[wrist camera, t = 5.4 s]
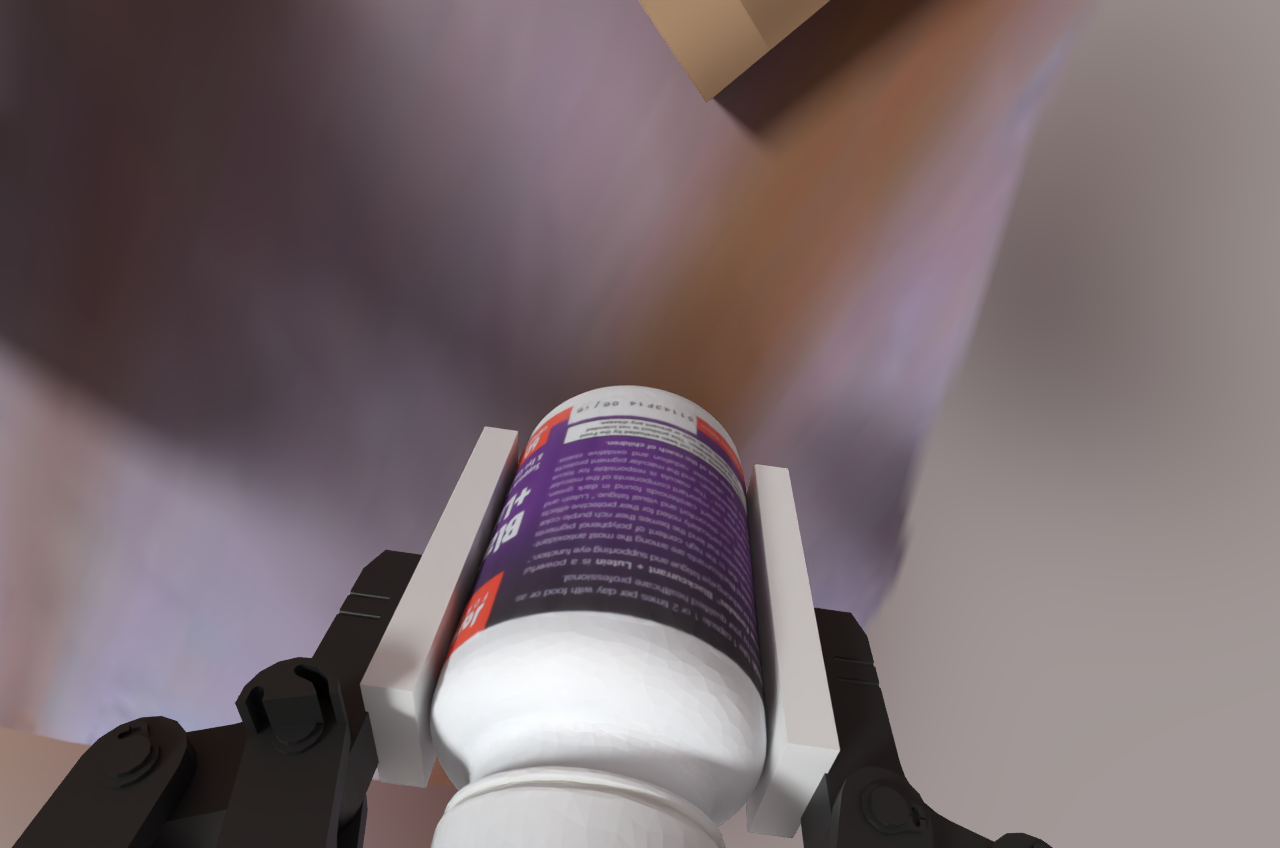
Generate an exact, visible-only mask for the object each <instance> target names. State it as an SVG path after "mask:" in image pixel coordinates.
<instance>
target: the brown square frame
mask: <svg viewBox="0 0 1280 848" xmlns="http://www.w3.org/2000/svg"><path fill="white" fill-rule="evenodd" d="M638 1H639V3H640V4H641V6H642V7H643V9H644V10H645V12H646V13H647V15H648V16H649V18H650V19H651V21H652V22H653V24H654V25H655V27H656V28H657V30H658V31H659V33H660V34H661V36H662V37H663V39H664V40H665V42H666V43H667V45H668V46H669V48H670V49H671V51H672V52H673V54H674V55H675V57H676V58H677V60H678V61H679V63H680V64H681V66H682V67H683V69H684V70H685V72H686V73H687V75H688V76H689V78H690V79H691V81H692V82H693V84H694V85H695V87H696V88H697V90H698V91H699V93H700V94H701V96H702V97H703V99H704V100H705V102H706V103H707V102H708V101H709V100H711V99H712V98H713V97H714V96H715V95H717V94H718V93H719V92H720V91H721V90H723V89H724V88H725V87H726V86H727V85H729V84H730V83H731V82H732V81H733V80H735V79H736V78H737V77H738V76H739V75H741V74H742V73H743V72H744V71H746V70H747V69H748V68H749V67H750V66H752V65H753V64H754V63H755V62H756V61H758V60H759V59H760V58H761V57H762V56H764V55H765V54H766V53H767V52H768V51H770V50H771V49H772V48H773V47H774V46H776V45H777V44H778V43H779V42H780V41H782V40H783V39H784V38H785V37H786V36H788V35H789V34H790V33H791V32H792V31H794V30H795V29H796V28H797V27H798V26H800V25H801V24H802V23H803V22H805V21H806V20H807V19H808V18H809V17H811V16H812V15H813V14H814V13H815V12H817V11H818V10H819V9H820V8H821V7H823V6H824V5H825V4H826V3H827V2H829V1H830V0H638Z"/></svg>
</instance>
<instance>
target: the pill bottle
mask: <svg viewBox="0 0 1280 848" xmlns="http://www.w3.org/2000/svg"><path fill="white" fill-rule="evenodd" d="M430 731H431V736H432V742H433V746H434V750H435V752H436V755H437V757H438V760H439V762H440V764H441V766H442V768H443V769H444V771H445V773H446V775H447V776H448V778H449V779H450V781H451V782H452V783H453V785H454V786H455V787H456V788H457V789H458V790H459V791H458V792H457V793H456V794H455V795H454V797H453V798H452V799H451V801H450V802H449V803H448V805H447V807H446V810H445V812H444V815H443V817H442V819H441V820H440V821H439V823H438V825H437V827H436V830H435V833H434V836H433V840H432V844H431V847H430V848H725V844H724V841H723V838H722V835H721V833H720V832H719V830H718V828H717V827H718V826H720V825H722V824H723V823H724V822H725V821H727V820H728V819H730V818H731V817H732V816H733V815H734V814H735V813H736V812H737V811H738V810H739V809H740V808H741V807H742V806H743V805H744V804H745V803H746V801H747V800H748V799H749V797H750V796H751V794H752V793H753V791H754V789H755V788H756V786H757V784H758V782H759V779H760V777H761V774H762V771H763V767H764V763H765V757H766V744H767V734H766V719H765V696H764V687H763V674H762V665H761V656H760V644H759V635H758V621H757V611H756V601H755V591H754V579H753V566H752V557H751V547H750V534H749V522H748V511H747V498H746V486H745V481H744V476H743V470H742V465H741V461H740V457H739V455H738V452H737V449H736V447H735V445H734V443H733V441H732V440H731V438H730V436H729V435H728V433H727V432H726V431H725V429H724V428H723V427H722V426H721V424H720V423H719V422H718V421H717V420H716V419H715V418H714V417H713V416H712V415H710V414H709V413H708V412H707V411H705V410H704V409H702V408H701V407H700V406H698V405H697V404H695V403H694V402H692V401H690V400H688V399H686V398H684V397H681V396H679V395H677V394H674V393H670V392H667V391H664V390H660V389H656V388H650V387H643V386H631V385H627V386H611V387H604V388H598V389H595V390H591V391H588V392H585V393H582V394H579V395H577V396H575V397H573V398H571V399H569V400H567V401H565V402H563V403H562V404H560V405H559V406H557V407H556V408H555V409H553V410H552V411H551V412H550V413H549V414H548V415H546V416H545V417H544V418H543V419H542V421H541V422H540V423H539V424H538V426H537V427H536V428H535V430H534V431H533V433H532V435H531V437H530V438H529V440H528V443H527V445H526V447H525V449H524V451H523V453H522V455H521V458H520V460H519V463H518V466H517V468H516V471H515V474H514V477H513V479H512V482H511V485H510V487H509V490H508V493H507V495H506V498H505V500H504V503H503V506H502V509H501V511H500V514H499V517H498V520H497V522H496V525H495V527H494V530H493V533H492V535H491V538H490V541H489V544H488V546H487V549H486V552H485V555H484V557H483V560H482V562H481V565H480V567H479V569H478V573H477V576H476V578H475V581H474V584H473V586H472V589H471V592H470V594H469V597H468V600H467V603H466V606H465V608H464V611H463V613H462V616H461V619H460V621H459V624H458V627H457V629H456V632H455V635H454V637H453V640H452V642H451V645H450V648H449V650H448V653H447V656H446V658H445V661H444V664H443V667H442V669H441V672H440V675H439V678H438V681H437V686H436V688H435V691H434V694H433V699H432V703H431V712H430Z"/></svg>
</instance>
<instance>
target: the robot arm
mask: <svg viewBox="0 0 1280 848" xmlns="http://www.w3.org/2000/svg"><path fill="white" fill-rule="evenodd" d="M517 466H518V431H514V430H507V429H500V428H493V427H484V429H483V431H482V434H481V436H480V438H479V440H478V442H477V444H476V446H475V448H474V450H473V452H472V454H471V456H470V458H469V460H468V462H467V464H466V466H465V469H464V471H463V473H462V475H461V477H460V479H459V481H458V483H457V485H456V487H455V489H454V491H453V493H452V495H451V497H450V499H449V502H448V504H447V506H446V508H445V510H444V512H443V514H442V516H441V518H440V520H439V522H438V524H437V526H436V528H435V530H434V532H433V534H432V537H431V539H430V541H429V543H428V545H427V547H426V549H425V551H424V553H423V555H419V554H412V553H405V552H397V551H390V550H385V551H384V552H383V553H381V554H380V555H379V556H378V557H377V558H375V559H374V560H373V561H372V562H371V563H369V564H368V565H367V566H366V567H365V568H363V570H362V572H361V574H360V575H359V577H358V579H357V581H356V582H355V584H354V586H353V588H352V589H351V593H350V595H349V596H347V598H346V600H345V601H344V603H343V605H342V607H341V608H340V613H339V614H337V615H336V617H335V619H334V621H333V622H332V624H331V626H330V628H329V629H328V631H327V633H326V634H325V636H324V638H323V640H322V641H321V643H320V645H319V647H318V648H317V650H316V652H315V654H314V655H313V657H312V658H302V657H297V658H293V659H289V660H284V661H280V662H277V663H276V664H274V665H272V666H270V667H268V668H266V669H264V670H263V671H261V672H259V673H258V674H257V675H256V676H255V677H254V678H253V679H252V680H251V681H250V682H249V683H248V684H246V685H245V686H244V688H243V690H242V692H241V694H240V695H239V697H238V699H237V701H236V703H235V704H236V706H237V709H238V711H239V714H240V716H241V719H242V721H243V722H241V723H237V724H233V725H227V726H221V727H215V728H209V729H203V730H197V731H192V732H185V730H184V729H183V728H182V727H181V725H180V724H179V723H178V722H177V721H175V720H172V719H169V718H166V717H163V716H156V717H142V718H139V719H136V720H133V721H130V722H128V723H125V724H122V725H120V726H118V727H116V728H115V729H113V730H112V731H110V732H108V733H107V734H105V735H104V736H102V737H101V738H99V739H98V740H97V741H96V742H95V743H94V744H93V745H92V746H91V747H90V748H89V749H88V750H87V751H86V752H85V753H84V754H83V755H82V756H81V758H80V759H79V760H78V761H77V763H76V764H75V765H74V767H73V768H72V769H71V771H70V772H69V774H68V775H67V776H66V777H65V779H64V780H63V781H62V783H61V784H60V785H59V786H58V788H57V789H56V790H55V792H54V793H53V794H52V796H51V797H50V798H49V800H48V801H47V802H46V804H45V805H44V806H43V807H42V809H41V810H40V811H39V813H38V814H37V815H36V817H35V818H34V819H33V820H32V822H31V823H30V824H29V826H28V827H27V828H26V830H25V831H24V832H23V834H22V835H21V837H20V838H19V839H18V840H17V841H16V843H15V844H14V845H13V847H12V848H363V842H364V834H365V826H366V818H367V797H366V792H367V790H368V787H369V785H370V782H371V780H372V777H373V775H374V773H375V770H376V768H378V772H379V777H380V782H386V783H394V784H401V785H408V786H415V787H423V788H426V786H427V783H428V780H429V777H430V774H431V771H432V768H433V765H434V762H435V759H436V756H437V755H436V752H435V750H434V746H433V742H432V736H431V731H430V712H431V703H432V699H433V694H434V691H435V688H436V686H437V681H438V678H439V675H440V672H441V669H442V667H443V664H444V661H445V658H446V656H447V653H448V650H449V648H450V645H451V642H452V640H453V637H454V635H455V632H456V629H457V627H458V624H459V621H460V619H461V616H462V613H463V611H464V608H465V606H466V603H467V600H468V597H469V594H470V592H471V589H472V586H473V584H474V581H475V578H476V576H477V573H478V569H479V567H480V565H481V562H482V560H483V557H484V555H485V552H486V549H487V546H488V544H489V541H490V538H491V535H492V533H493V530H494V527H495V525H496V522H497V520H498V517H499V514H500V511H501V509H502V506H503V503H504V500H505V498H506V495H507V493H508V490H509V487H510V485H511V482H512V479H513V477H514V474H515V471H516V468H517ZM746 498H747V511H748V522H749V534H750V547H751V557H752V566H753V579H754V591H755V601H756V611H757V621H758V635H759V644H760V656H761V665H762V674H763V687H764V696H765V719H766V734H767V744H766V757H765V763H764V767H763V771H762V774H761V777H760V779H759V782H758V784H757V786H756V788H755V789H754V791H753V793H752V794H751V796H750V797H749V799H748V800H747V801H746V809H747V810H746V811H747V829H748V832H751V833H758V834H766V835H773V836H780V837H787V838H793V837H794V835H795V833H796V831H797V829H798V827H799V826H800V824H801V827H802V835H803V843H804V848H1052V847H1051V846H1050V845H1048V844H1047V843H1045V842H1044V841H1042V840H1041V839H1038V838H1036V837H1033V836H1030V835H1027V834H1025V833H1007V834H1005V835H1004V836H1002V837H1001V838H999V839H998V840H997V841H995V842H993V841H991V840H989V839H987V838H985V837H983V836H980V835H979V834H977V833H974V832H972V831H970V830H968V829H966V828H964V827H962V826H960V825H957V824H955V823H953V822H951V821H949V820H948V819H946V818H944V817H943V816H941V815H939V814H937V813H936V812H935V811H933V810H932V809H931V808H930V807H929V806H928V805H926V804H925V803H924V802H923V800H922V798H921V796H920V794H919V793H918V792H917V791H916V790H915V789H914V788H913V787H912V786H911V785H910V784H909V782H908V781H907V779H906V777H905V775H904V772H903V770H902V767H901V764H900V761H899V758H898V753H897V749H896V746H895V742H894V738H893V734H892V730H891V726H890V723H889V718H888V715H887V711H886V707H885V703H884V699H883V695H882V692H881V688H879V680H878V676H877V672H876V668H875V667H874V666H873V663H874V661H873V657H872V653H871V649H870V645H869V641H868V637H867V635H866V634H865V632H864V631H863V630H862V628H861V627H860V625H859V624H858V622H857V621H856V619H855V618H854V617H853V615H852V614H851V613H849V612H841V611H834V610H827V609H820V608H814V606H813V601H812V596H811V590H810V585H809V579H808V574H807V569H806V563H805V558H804V552H803V547H802V542H801V536H800V531H799V525H798V520H797V514H796V509H795V504H794V498H793V493H792V487H791V482H790V477H789V471H788V469H787V468H780V467H773V466H765V465H758V464H755V466H754V469H753V473H752V477H751V480H750V484H749V487H748V491H747V495H746Z"/></svg>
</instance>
